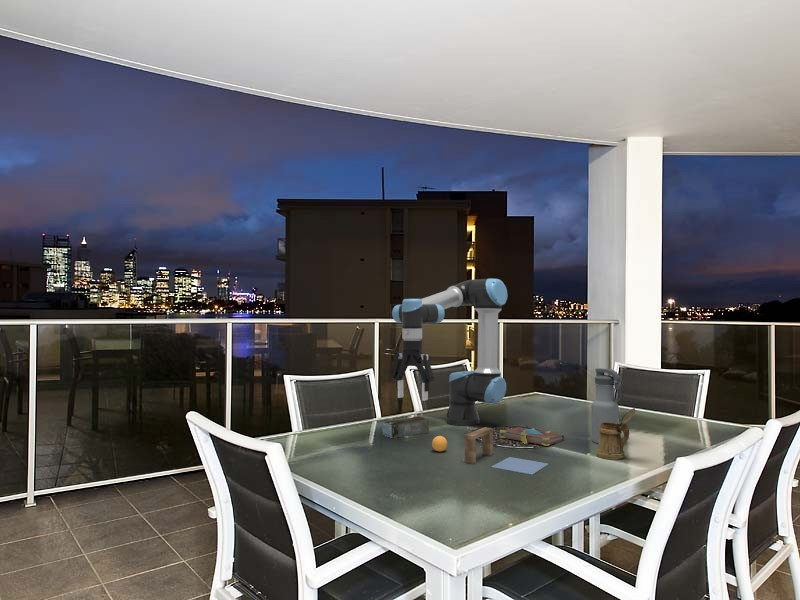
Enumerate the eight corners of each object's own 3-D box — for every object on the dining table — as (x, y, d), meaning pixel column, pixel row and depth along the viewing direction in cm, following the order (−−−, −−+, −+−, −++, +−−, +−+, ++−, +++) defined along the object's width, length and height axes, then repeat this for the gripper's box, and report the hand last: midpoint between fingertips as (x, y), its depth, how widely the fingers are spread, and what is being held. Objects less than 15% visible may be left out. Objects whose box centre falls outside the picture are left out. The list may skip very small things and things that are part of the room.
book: (510, 434, 226) (510, 422, 226) (565, 443, 209) (565, 430, 209) (488, 438, 214) (488, 426, 214) (545, 449, 197) (545, 435, 197)
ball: (437, 448, 197) (437, 433, 197) (450, 450, 194) (450, 435, 194) (429, 451, 193) (429, 436, 193) (442, 454, 189) (442, 438, 190)
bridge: (464, 462, 179) (464, 435, 179) (485, 453, 191) (484, 427, 191) (472, 464, 177) (472, 436, 177) (492, 454, 189) (492, 428, 189)
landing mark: (509, 457, 185) (509, 456, 185) (548, 464, 176) (548, 463, 176) (491, 467, 173) (491, 466, 173) (532, 474, 165) (532, 474, 165)
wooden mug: (629, 464, 176) (628, 409, 176) (591, 456, 186) (590, 404, 187) (642, 459, 181) (641, 406, 182) (604, 451, 192) (604, 401, 192)
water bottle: (624, 442, 205) (623, 369, 206) (614, 447, 198) (613, 371, 199) (598, 437, 212) (597, 367, 213) (587, 442, 205) (586, 369, 206)
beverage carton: (381, 435, 219) (381, 420, 219) (419, 430, 229) (419, 415, 229) (391, 439, 212) (391, 423, 212) (429, 433, 223) (429, 418, 223)
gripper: (382, 339, 205) (382, 397, 204) (432, 341, 191) (432, 403, 191) (393, 338, 211) (394, 394, 211) (443, 340, 197) (444, 400, 197)
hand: (412, 398), depth 201 cm, fingers open, 10 cm apart
